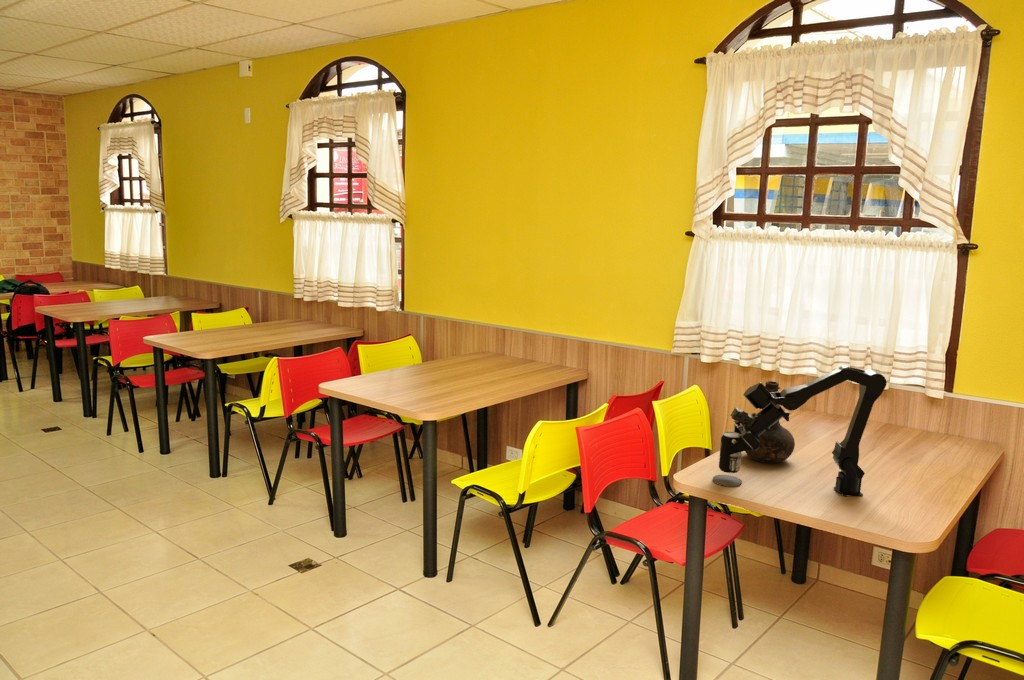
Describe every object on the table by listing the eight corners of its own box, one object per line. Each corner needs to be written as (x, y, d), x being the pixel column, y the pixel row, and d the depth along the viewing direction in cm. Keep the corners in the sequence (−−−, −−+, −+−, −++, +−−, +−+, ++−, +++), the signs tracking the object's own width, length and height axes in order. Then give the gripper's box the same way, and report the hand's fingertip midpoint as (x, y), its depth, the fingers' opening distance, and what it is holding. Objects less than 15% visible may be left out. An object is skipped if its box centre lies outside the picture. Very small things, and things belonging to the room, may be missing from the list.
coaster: (735, 477, 252) (735, 474, 252) (746, 487, 244) (746, 484, 243) (708, 476, 251) (708, 474, 251) (718, 486, 243) (719, 484, 242)
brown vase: (801, 460, 272) (809, 383, 267) (777, 471, 260) (786, 390, 255) (754, 448, 284) (762, 374, 280) (730, 457, 272) (737, 380, 267)
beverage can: (720, 465, 251) (723, 430, 249) (741, 468, 248) (744, 433, 246) (717, 471, 245) (719, 435, 243) (738, 475, 242) (741, 438, 240)
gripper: (743, 393, 251) (706, 423, 255) (752, 407, 233) (712, 440, 236) (766, 418, 252) (729, 448, 255) (777, 434, 233) (737, 466, 237)
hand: (726, 450), depth 246 cm, fingers closed on beverage can, 7 cm apart
